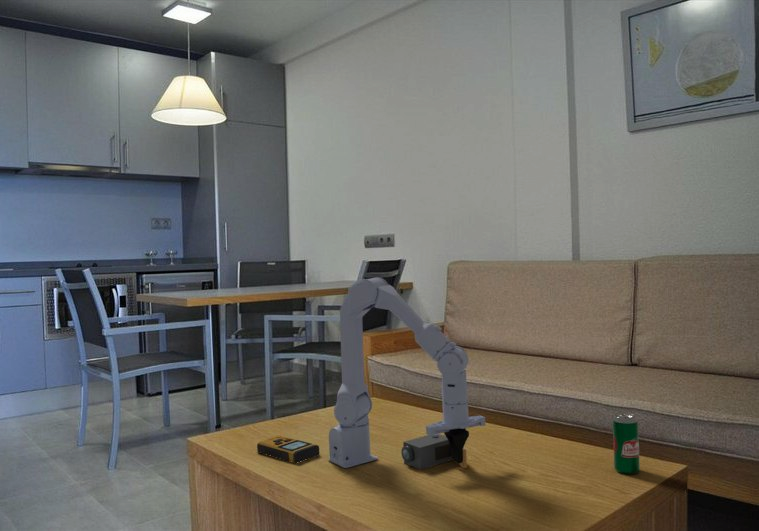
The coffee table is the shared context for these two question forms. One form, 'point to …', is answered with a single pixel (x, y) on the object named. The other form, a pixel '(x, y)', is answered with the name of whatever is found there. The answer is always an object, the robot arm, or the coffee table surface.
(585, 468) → the coffee table surface
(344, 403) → the robot arm
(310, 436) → the coffee table surface
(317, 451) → the electronic device
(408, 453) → the camera body
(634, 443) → the soda can
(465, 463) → the side door
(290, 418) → the coffee table surface
